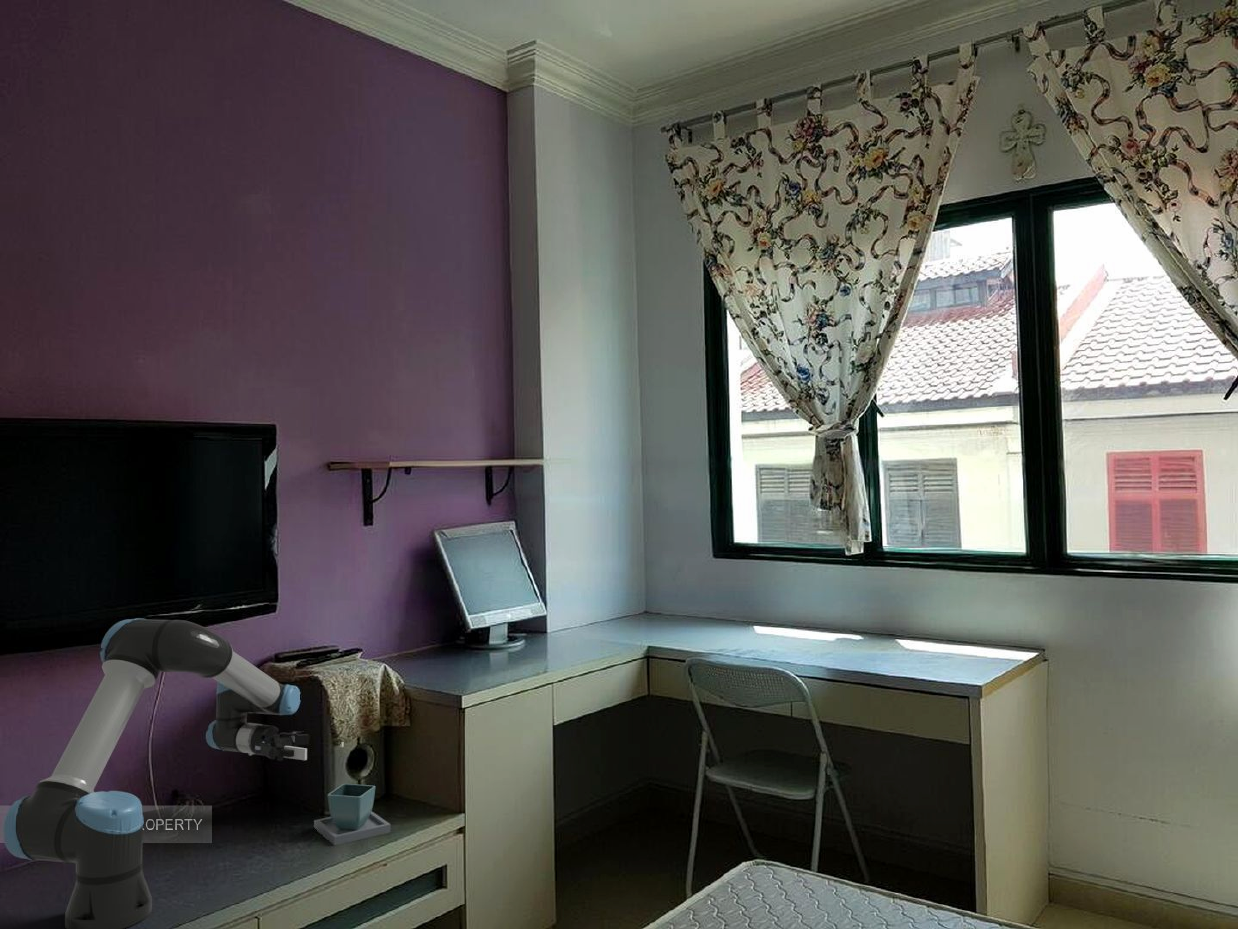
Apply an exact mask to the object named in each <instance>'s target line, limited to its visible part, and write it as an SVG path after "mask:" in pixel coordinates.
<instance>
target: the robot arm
mask: <svg viewBox="0 0 1238 929" xmlns="http://www.w3.org/2000/svg"><path fill="white" fill-rule="evenodd" d="M100 648H101V651H100V652H99V653H100V654H99V655H100V660H101V662H102V665H101V668H102V672H103V673H104V676H103V679H102V680H101V682H100V684H99V686H98V688H97V690H96V691H95V693H94V695H93V697H92V698H91V701H90V703H89V704H88V706H87V709H86V710H85V712H84V714H83V716H82V718H81V720H80V721H79V723H78V725H77V727H76V729H75V731H74V733H73V735H72V736H71V738H70V741H69V742H68V744H67V746H66V748H65V750H64V751H63V754H62V755H61V757H60V758H59V760H58V763H57V765H56V767H55V768H54V770H53V772H52V774H51V775H50V776H49V777H48V778H44V779H42V780H39V782H38V783H37V785H36V787H35V789H34V790H33V792H32V794H31V795H26V796H22V797H21V798H20V799H17V800H16V801H14V802H13V803H12V805H11V806H10V808H9V809H8V811H7V812H6V815H5V818H4V822H3V829H2V835H3V838H4V839H3V842H4V845H5V848H6V849H7V851H8V852H9V853H10V854H11V855H12V856H14V857H16V858H20V859H26V860H29V861H32V862H33V861H34V862H35V861H45V862H47V861H48V862H59V863H72V864H75V884H74V888H73V890H72V893H71V895H70V899H69V902H68V904H67V907H66V910H65V914H64V927H65V929H126V928H128V927H129V928H130V927H131V926H134V925H136V924H138V923H140V922H142V921H143V920H144V919H146V918H147V917H148V916H149V915H150V914H151V912H152V911H153V910H152V909H153V907H152V906H153V897H152V894H151V892H150V890H149V886H148V884H147V881H146V879H145V876H144V872H143V848H144V847H143V846H144V845H143V841H144V840H143V838H144V835H143V834H144V823H145V822H144V821H145V819H144V815H143V805H142V801H141V800H140V798H139V797H137V796H136V795H134V794H133V793H130V792H126V791H122V790H121V791H120V790H119V791H118V790H109V791H102V790H101V791H94V790H95V788H96V786H97V784H98V781H99V780H100V777H101V775H102V774H103V772H104V769H105V768H106V767H107V766H106V765H107V764H108V761H109V760H110V758H111V756H112V753H113V752H114V749H115V748H116V746H117V744H118V741H119V739H120V737H121V735H122V734H123V732H124V729H125V728H126V725H127V723H128V722H129V719H130V718H131V716H132V714H133V711H134V710H135V708H136V706H137V704H138V701H139V699H140V698H141V696H142V695H143V691H144V690H145V689H148V688H150V687H152V686H155V683H156V681H157V679H158V677H159V676H160V674H161V673H163V672H164V673H186V674H187V673H189V674H195V675H197V676H199V677H201V678H203V679H213V680H215V681H216V682H217V684H216V693H215V695H216V698H215V699H216V707H215V708H216V711H215V712H216V715H215V717H216V718H215V720H213V721H212V722H211V723H210V724H209V725H208V727H207V730H206V732H205V740H206V743H207V744H208V746H210V747H211V748H212V749H217V750H221V751H223V752H227V751H228V752H236V753H244V754H248V756H253V755H257V756H263V757H266V758H268V759H270V760H275V759H276V757H277V761H278V762H282V761H284V760H283V759H293V760H301V761H307V760H308V748H304V747H299V746H306V745H310V744H309V740H310V739H309V738H310V735H308V734H302V733H301V732H302V731H299V730H298V731H297V730H292V731H290V732H280V730H279V728H278V727H276V726H275V725H268V724H261V723H254V722H247V717H248V714H263V715H277V716H287V715H293V714H296V712H297V711H298V709H299V707H300V704H301V700H300V694H301V691H300V688H299V687H298V686H296V685H291V684H282V683H280V682H278V681H277V680H276V679H274V678H273V677H271V676H270V675H268V674H267V673H265V672H264V671H262V669H261V670H260V669H259V668H258V667H257V666H255V665H253V663H251V662H250V661H248V660H247V659H245V658H244V657H242V656H240V655H239V654H238V653H236V652H235V651H234V650H233V646H232V644H230V642H229V641H228V640H226V639H224V638H223V637H222V636H220V635H219V634H217V633H215V632H214V631H212V630H210V629H208V628H206V627H204V626H202V625H200V624H197V623H194V622H192V621H188V620H184V619H183V620H182V619H181V620H180V619H146V618H142V617H141V618H140V617H138V618H131V619H129V618H127V619H123V620H121V621H118V622H116V623H115V624H113V625H112V626H111V627H110V628H109V629H108V631H107V632H106V633H105V635H104V637H103V638H102V640H101V645H100ZM344 742H345V741H344ZM344 742H341V744H340V746H339V747H338V748H344V746H345V744H344ZM293 743H294V744H293Z"/></svg>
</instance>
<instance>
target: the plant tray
mask: <svg viewBox="0 0 1238 929" xmlns="http://www.w3.org/2000/svg"><path fill="white" fill-rule="evenodd" d="M391 825H392V824H391V823H389V822H388V821H386V820H385V819H383V818H382V817H381V816H380V815H378V814H376V813H375V812H373V811H371V813H370V816H369V818H368V819H367V821H366V823H365V824H363V825H362V826H361V827H360V828H359V829H357V830H349V829H338V828H337V827H336V825H335V824H334V822H333V821H332V818H331V816H329V817H324V818H319V819H315V820H313V829H314V828H315V829H316V830H317V832H318V833H319V834H320V835H321V834H322V835H323V836H322V835H321V836H322V837H324V838H325V839H326V840H327V841H328V840H329V841H328V842H329V843H331V844H332V845H333V846H338V845H343V844H348V843H351V842H352V843H353V842H355V841H360V840H364V839H369V838H374V837H378V836H382V835H386V834H390V833H391V830H392V828H391V827H392V826H391ZM315 829H314V830H315ZM316 830H315V831H316Z"/></svg>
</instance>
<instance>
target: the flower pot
mask: <svg viewBox="0 0 1238 929" xmlns="http://www.w3.org/2000/svg"><path fill="white" fill-rule="evenodd" d="M375 793H376V786H375V785H367V784H354V783H353V784H352V783H342V784H341V785H340V786H338V787H336V788H334V790H332V791H331V792H329V793H328V794H327V795H326V796H327V802H328V810H329V816H330V817H331V818H332V821H333V822H334V824H335V825H336V827H337V828H338V829H349V830H357V829H359V828H360V827H361V826H362V825H363V824H365V823H366V821H367V819H368V818H369V816H370V813H371V811H372V810H373V807H374V801H375ZM372 812H373V811H372Z"/></svg>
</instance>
